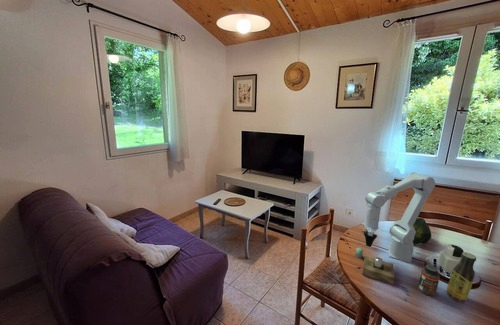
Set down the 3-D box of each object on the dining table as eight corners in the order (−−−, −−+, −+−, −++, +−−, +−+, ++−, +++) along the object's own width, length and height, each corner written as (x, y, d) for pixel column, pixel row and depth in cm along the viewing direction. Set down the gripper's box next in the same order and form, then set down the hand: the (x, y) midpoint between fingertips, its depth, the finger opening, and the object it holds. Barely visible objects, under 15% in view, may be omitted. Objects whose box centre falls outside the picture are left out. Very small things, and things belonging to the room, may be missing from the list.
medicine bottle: (455, 266, 108) (460, 244, 105) (463, 276, 102) (469, 253, 99) (437, 262, 110) (442, 241, 108) (444, 272, 104) (449, 249, 101)
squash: (392, 231, 129) (417, 218, 120) (397, 222, 140) (419, 210, 132) (412, 253, 124) (439, 241, 116) (414, 242, 135) (439, 231, 127)
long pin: (380, 271, 104) (382, 258, 102) (380, 275, 102) (382, 262, 100) (373, 269, 106) (375, 256, 104) (373, 273, 103) (375, 260, 102)
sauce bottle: (441, 291, 93) (452, 249, 88) (455, 290, 93) (466, 248, 89) (457, 304, 87) (469, 260, 82) (472, 303, 87) (484, 259, 83)
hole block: (392, 270, 105) (393, 264, 104) (393, 284, 96) (394, 277, 96) (363, 262, 111) (364, 256, 110) (362, 274, 102) (363, 268, 101)
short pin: (362, 255, 116) (363, 248, 115) (361, 258, 113) (362, 251, 112) (356, 253, 117) (356, 247, 116) (355, 256, 115) (356, 250, 114)
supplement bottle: (420, 294, 91) (425, 270, 89) (415, 283, 97) (420, 261, 94) (438, 298, 89) (444, 274, 87) (432, 287, 95) (437, 264, 92)
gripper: (364, 209, 115) (361, 233, 118) (362, 221, 103) (358, 247, 106) (379, 212, 112) (376, 236, 115) (379, 225, 100) (375, 251, 103)
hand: (368, 242), depth 110 cm, fingers open, 7 cm apart
